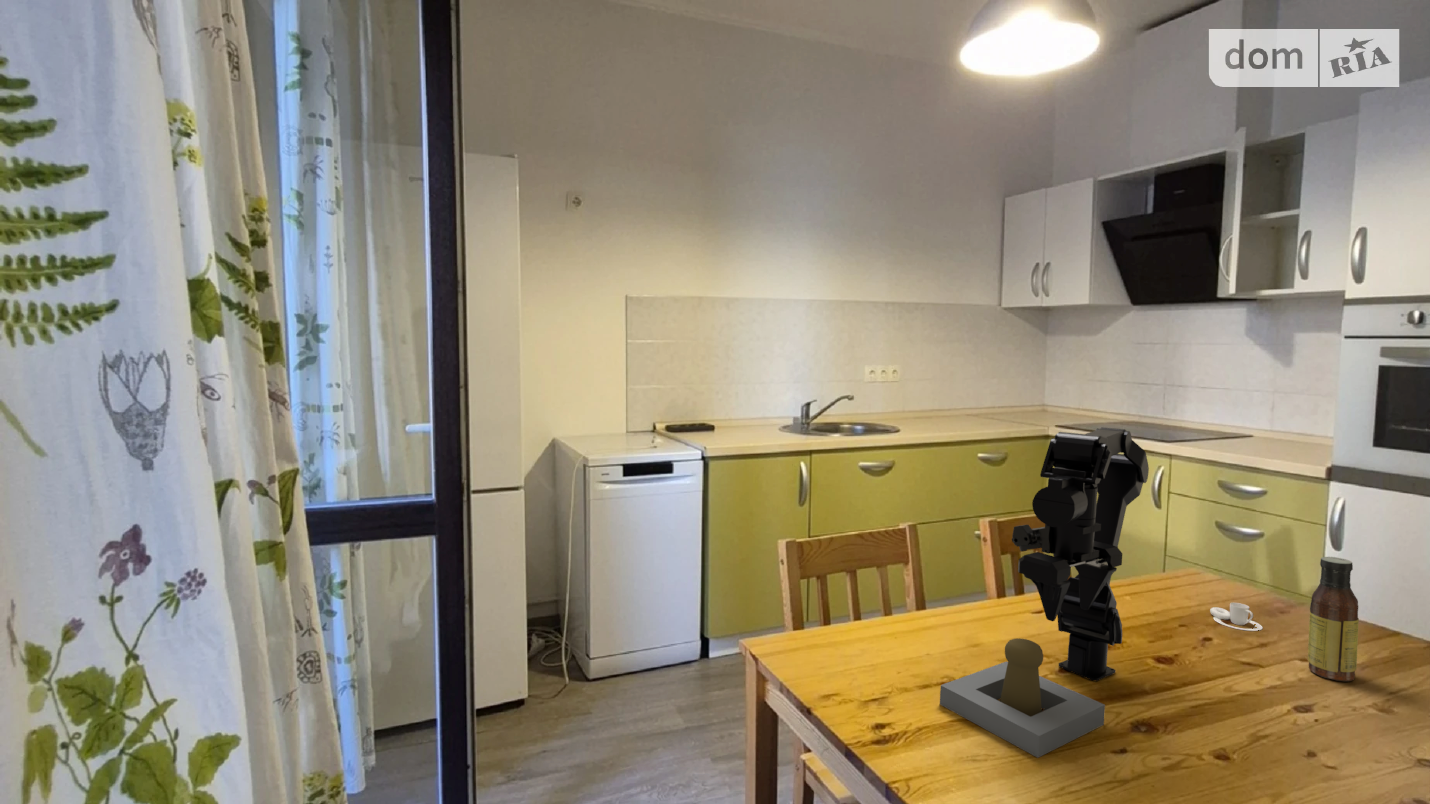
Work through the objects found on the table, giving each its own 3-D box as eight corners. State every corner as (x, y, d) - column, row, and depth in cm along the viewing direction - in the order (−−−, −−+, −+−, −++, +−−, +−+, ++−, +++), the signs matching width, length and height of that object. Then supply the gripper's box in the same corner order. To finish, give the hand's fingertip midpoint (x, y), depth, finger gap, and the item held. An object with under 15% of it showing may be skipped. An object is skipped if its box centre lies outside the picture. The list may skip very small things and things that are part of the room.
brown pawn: (1047, 727, 100) (1052, 652, 99) (1002, 722, 101) (1006, 648, 101) (1037, 706, 106) (1041, 636, 105) (994, 701, 107) (998, 631, 106)
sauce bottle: (1346, 671, 121) (1357, 557, 119) (1361, 686, 115) (1373, 567, 113) (1298, 663, 123) (1309, 552, 122) (1311, 678, 118) (1322, 561, 116)
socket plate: (1005, 679, 115) (1006, 661, 115) (1103, 724, 101) (1105, 704, 101) (939, 704, 106) (940, 685, 106) (1037, 757, 93) (1039, 735, 93)
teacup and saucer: (1202, 614, 147) (1204, 595, 146) (1244, 617, 146) (1246, 598, 145) (1227, 631, 138) (1228, 611, 138) (1271, 634, 137) (1273, 614, 137)
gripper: (1059, 498, 119) (1053, 588, 120) (989, 510, 109) (984, 608, 110) (1127, 512, 110) (1120, 610, 111) (1058, 527, 100) (1051, 634, 101)
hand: (1067, 614), depth 109 cm, fingers open, 9 cm apart
